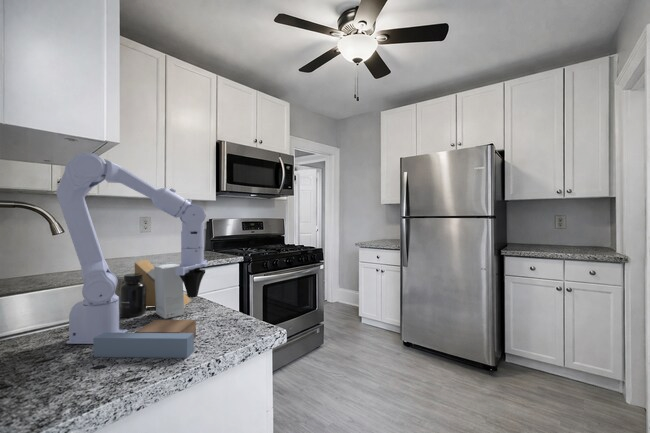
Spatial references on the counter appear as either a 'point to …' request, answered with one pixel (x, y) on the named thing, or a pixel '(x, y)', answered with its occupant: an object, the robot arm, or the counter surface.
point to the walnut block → (169, 327)
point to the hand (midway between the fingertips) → (192, 296)
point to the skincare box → (168, 291)
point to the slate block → (144, 345)
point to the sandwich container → (150, 281)
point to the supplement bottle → (133, 296)
